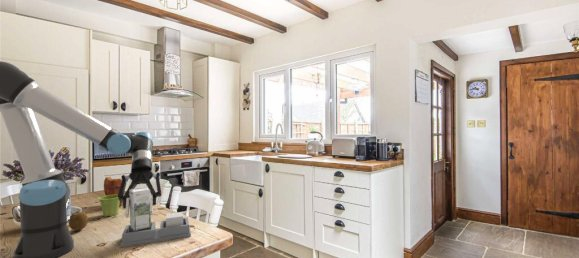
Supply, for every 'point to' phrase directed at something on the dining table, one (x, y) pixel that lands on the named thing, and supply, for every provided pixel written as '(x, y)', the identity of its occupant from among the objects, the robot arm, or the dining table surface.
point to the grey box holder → (158, 231)
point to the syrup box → (140, 208)
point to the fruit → (78, 221)
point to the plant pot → (109, 205)
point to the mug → (112, 187)
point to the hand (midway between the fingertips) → (139, 214)
